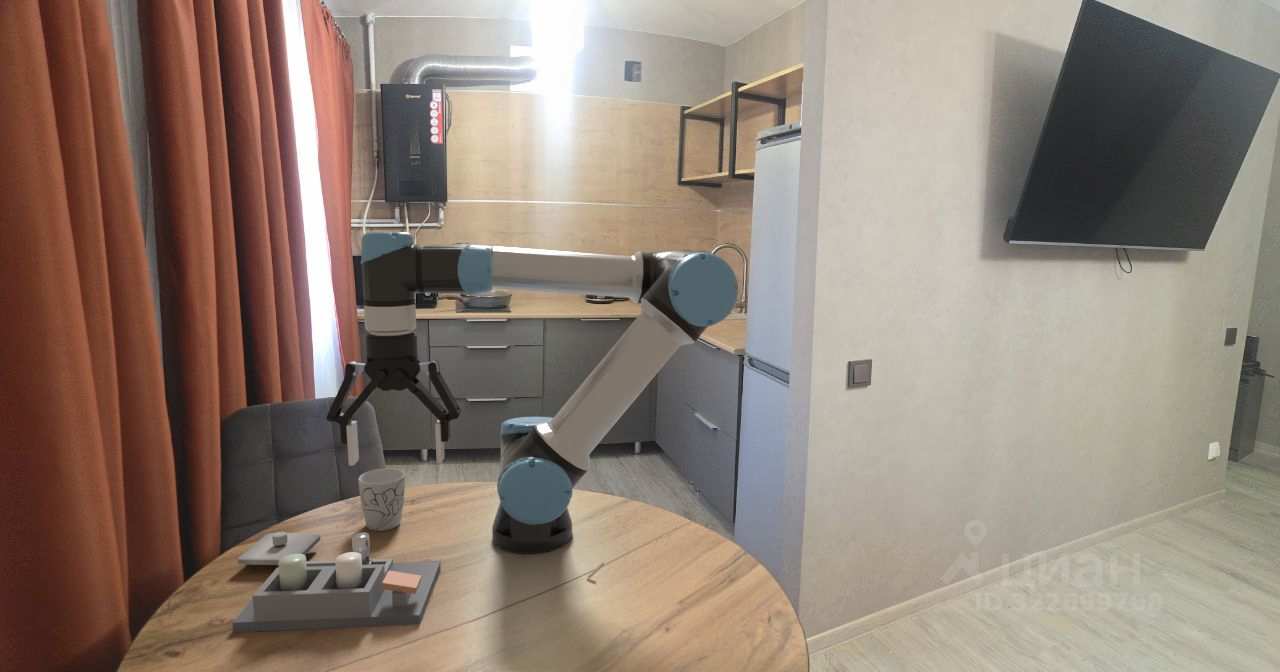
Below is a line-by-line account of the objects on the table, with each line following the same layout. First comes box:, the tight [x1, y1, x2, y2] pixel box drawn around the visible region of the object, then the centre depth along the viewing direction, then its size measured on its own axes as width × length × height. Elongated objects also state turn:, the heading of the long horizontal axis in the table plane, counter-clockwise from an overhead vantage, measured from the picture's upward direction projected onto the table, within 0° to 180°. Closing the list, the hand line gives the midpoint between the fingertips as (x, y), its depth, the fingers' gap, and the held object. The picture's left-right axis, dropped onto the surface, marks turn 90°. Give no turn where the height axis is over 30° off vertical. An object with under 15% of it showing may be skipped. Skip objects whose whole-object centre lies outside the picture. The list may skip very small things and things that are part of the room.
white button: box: [334, 551, 363, 589], centre depth 98 cm, size 4×4×4 cm
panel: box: [231, 558, 442, 633], centre depth 103 cm, size 26×16×6 cm, turn 96°
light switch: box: [237, 531, 321, 566], centre depth 114 cm, size 10×10×5 cm
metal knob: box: [351, 532, 373, 565], centre depth 107 cm, size 3×3×6 cm
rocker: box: [381, 571, 421, 594], centre depth 100 cm, size 5×4×1 cm
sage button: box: [278, 554, 307, 591], centre depth 98 cm, size 4×4×4 cm
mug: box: [358, 468, 406, 532], centre depth 130 cm, size 11×8×10 cm
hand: (397, 461), depth 106 cm, fingers open, 13 cm apart
